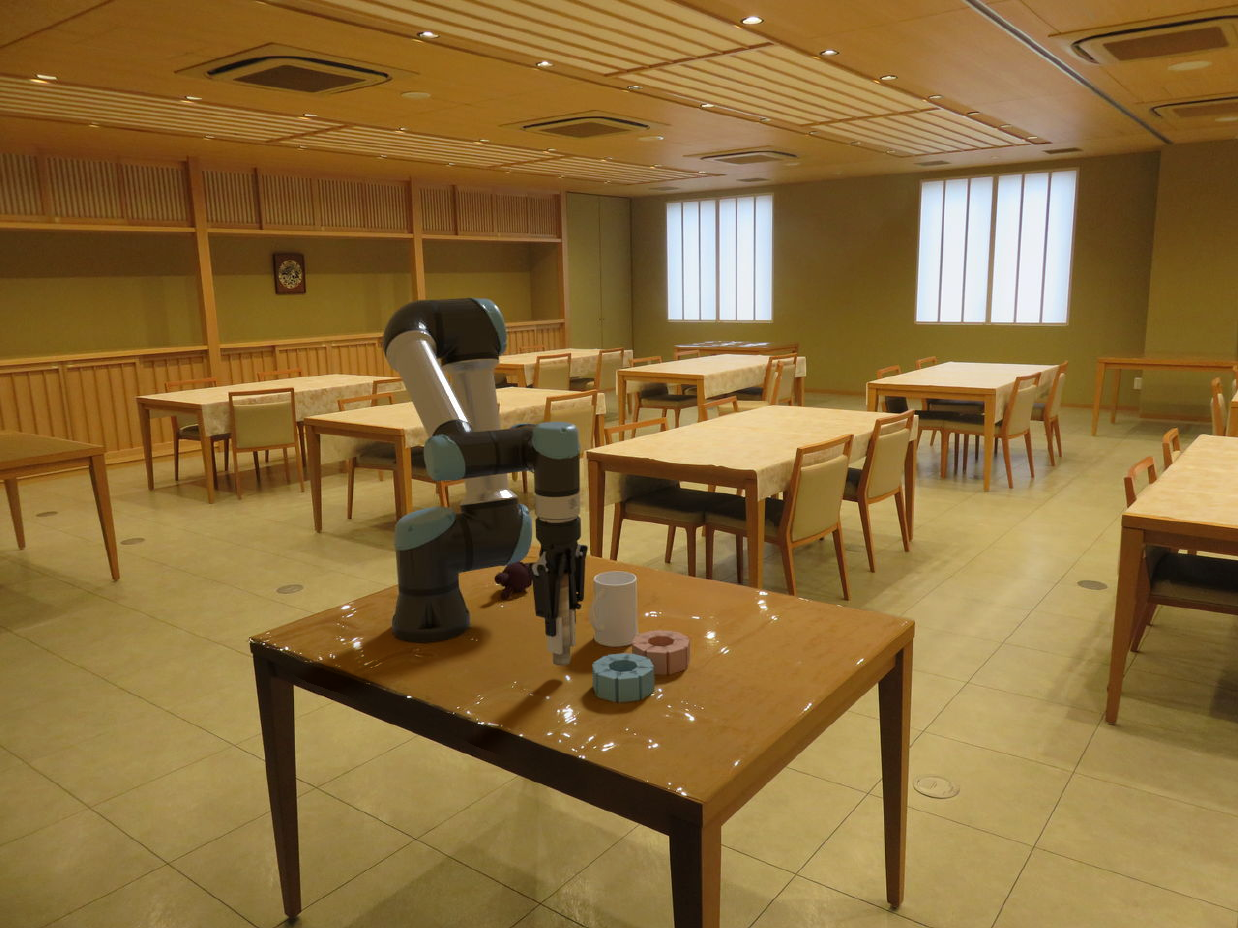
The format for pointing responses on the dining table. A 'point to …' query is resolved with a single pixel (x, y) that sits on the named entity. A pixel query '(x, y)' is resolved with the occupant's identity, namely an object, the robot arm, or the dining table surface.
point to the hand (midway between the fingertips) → (561, 647)
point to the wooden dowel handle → (564, 622)
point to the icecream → (514, 578)
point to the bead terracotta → (663, 650)
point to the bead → (623, 677)
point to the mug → (614, 608)
